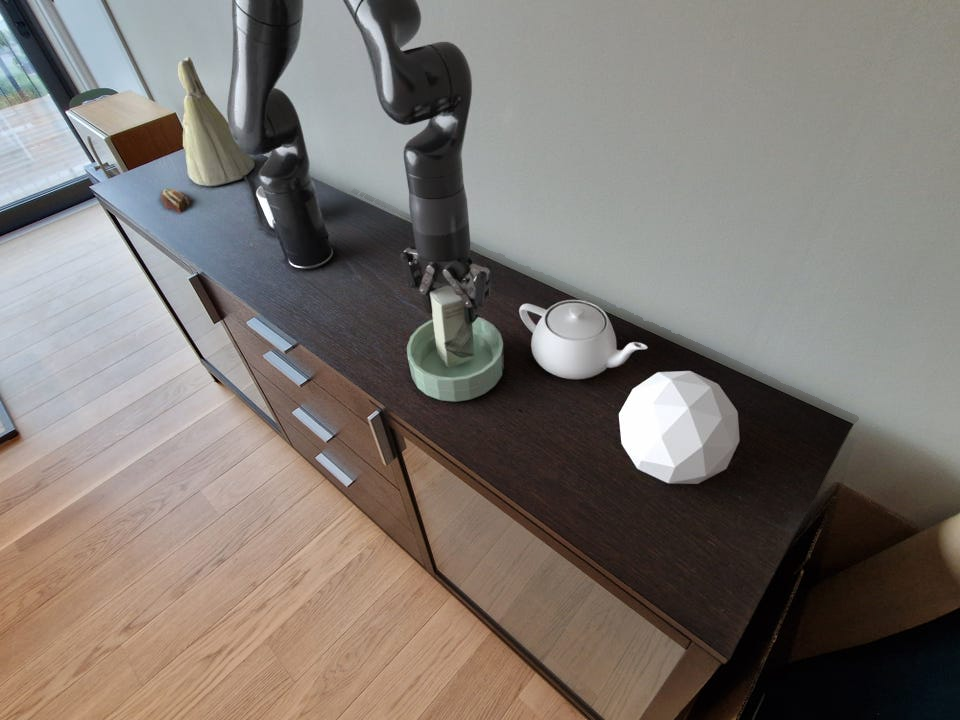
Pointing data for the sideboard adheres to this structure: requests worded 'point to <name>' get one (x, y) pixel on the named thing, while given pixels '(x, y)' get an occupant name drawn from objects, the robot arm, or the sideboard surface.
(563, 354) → the teapot
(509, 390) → the sideboard surface
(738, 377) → the sideboard surface
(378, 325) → the sideboard surface
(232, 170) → the sculpture
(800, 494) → the sideboard surface
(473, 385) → the bowl
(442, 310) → the box
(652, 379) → the geometric shape
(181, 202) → the brown striped bar
